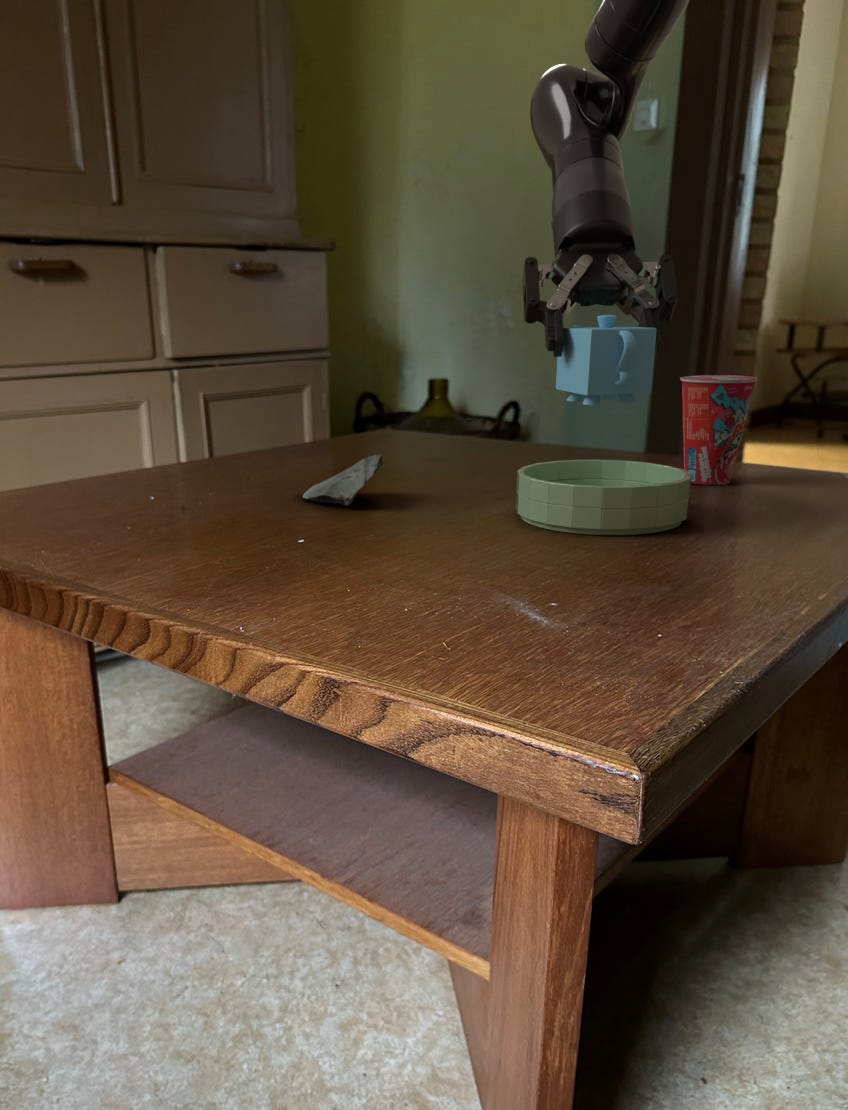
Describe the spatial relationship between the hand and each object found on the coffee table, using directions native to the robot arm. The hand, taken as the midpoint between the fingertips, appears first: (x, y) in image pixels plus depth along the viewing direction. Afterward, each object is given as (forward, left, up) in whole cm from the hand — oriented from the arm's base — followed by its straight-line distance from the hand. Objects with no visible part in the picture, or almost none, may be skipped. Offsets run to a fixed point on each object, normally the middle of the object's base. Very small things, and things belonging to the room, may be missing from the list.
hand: (603, 350), depth 82 cm
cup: (-17, -24, -16) cm, 34 cm away
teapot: (0, -1, -5) cm, 5 cm away
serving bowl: (-1, -3, -16) cm, 16 cm away
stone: (+26, -12, -16) cm, 33 cm away
